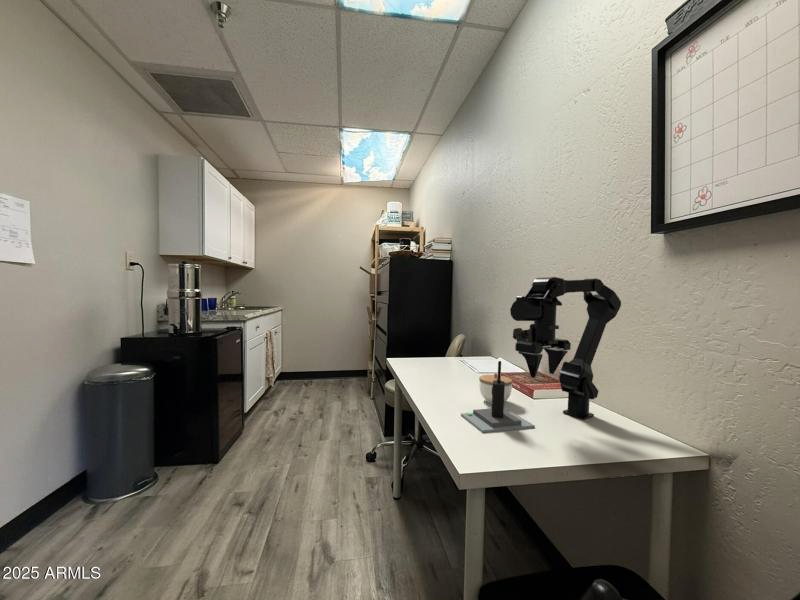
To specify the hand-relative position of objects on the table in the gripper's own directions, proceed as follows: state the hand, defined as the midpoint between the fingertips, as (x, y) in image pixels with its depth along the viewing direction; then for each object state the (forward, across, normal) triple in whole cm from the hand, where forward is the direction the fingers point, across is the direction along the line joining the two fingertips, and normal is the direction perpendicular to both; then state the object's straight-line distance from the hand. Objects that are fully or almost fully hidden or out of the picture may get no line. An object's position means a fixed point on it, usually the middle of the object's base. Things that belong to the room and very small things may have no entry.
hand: (542, 375), depth 93 cm
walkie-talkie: (+11, +12, -6) cm, 17 cm away
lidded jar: (+13, -2, -18) cm, 22 cm away
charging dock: (+13, +12, -6) cm, 19 cm away
